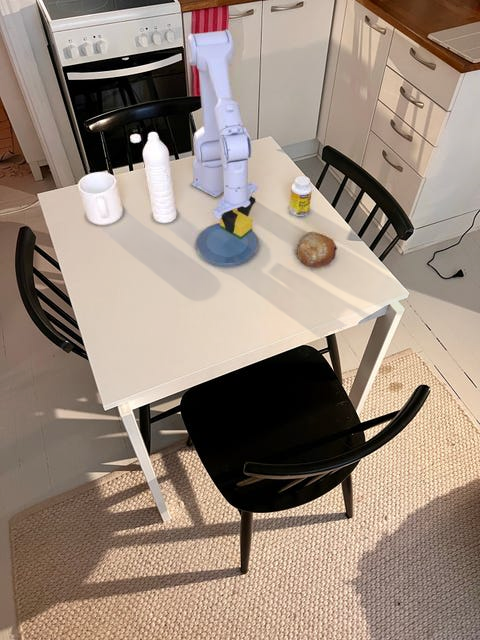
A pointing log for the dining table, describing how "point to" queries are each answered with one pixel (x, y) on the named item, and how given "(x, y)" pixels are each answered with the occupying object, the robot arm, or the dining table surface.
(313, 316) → the dining table surface
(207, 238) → the plate
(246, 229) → the sponge
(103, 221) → the mug
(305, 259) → the bread roll
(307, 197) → the supplement bottle
